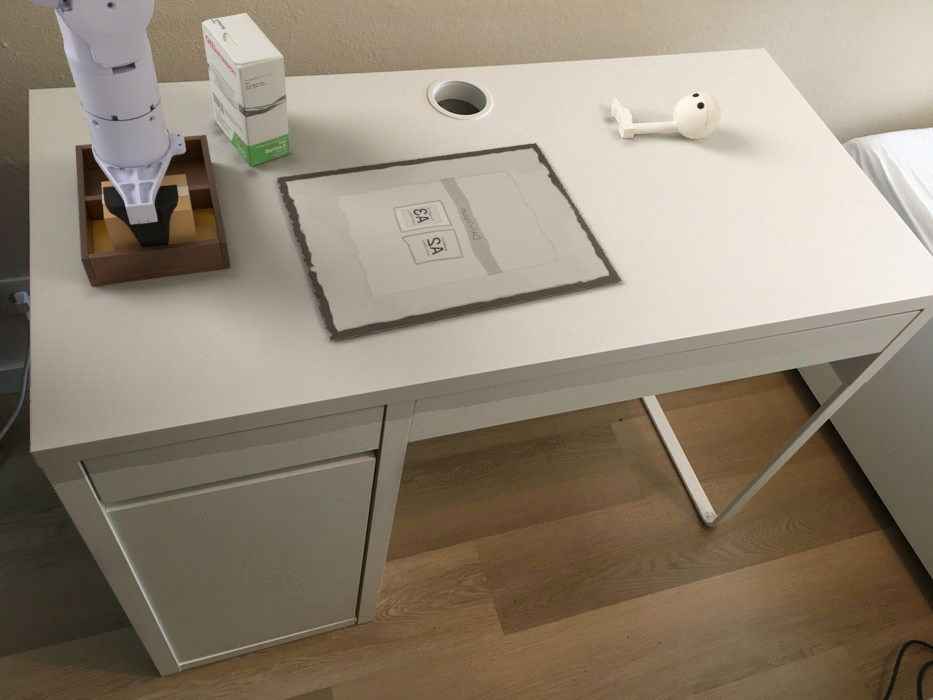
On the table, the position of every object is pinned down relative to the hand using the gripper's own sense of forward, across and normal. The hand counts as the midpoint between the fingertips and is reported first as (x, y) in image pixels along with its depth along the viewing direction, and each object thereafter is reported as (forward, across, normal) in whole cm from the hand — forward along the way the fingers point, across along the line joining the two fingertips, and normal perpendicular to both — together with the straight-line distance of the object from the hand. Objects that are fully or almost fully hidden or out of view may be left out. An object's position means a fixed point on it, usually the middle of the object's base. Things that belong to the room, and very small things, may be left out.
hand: (153, 225), depth 69 cm
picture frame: (+3, -3, -28) cm, 28 cm away
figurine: (+3, +10, -59) cm, 60 cm away
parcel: (+1, 0, 0) cm, 1 cm away
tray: (+3, +4, 0) cm, 5 cm away
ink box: (+3, +14, -11) cm, 18 cm away
